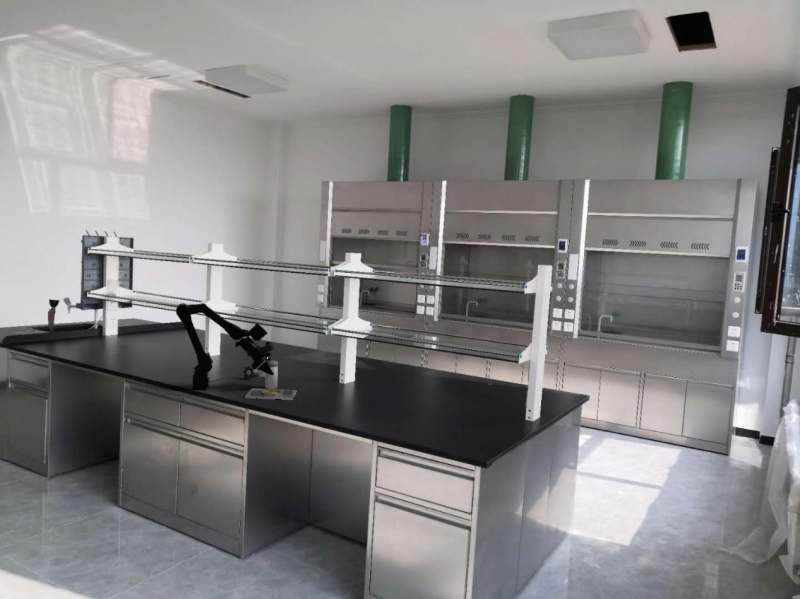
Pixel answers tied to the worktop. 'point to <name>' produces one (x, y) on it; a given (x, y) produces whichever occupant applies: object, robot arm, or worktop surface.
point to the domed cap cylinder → (272, 379)
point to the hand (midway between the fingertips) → (274, 373)
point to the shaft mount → (271, 394)
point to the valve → (251, 372)
